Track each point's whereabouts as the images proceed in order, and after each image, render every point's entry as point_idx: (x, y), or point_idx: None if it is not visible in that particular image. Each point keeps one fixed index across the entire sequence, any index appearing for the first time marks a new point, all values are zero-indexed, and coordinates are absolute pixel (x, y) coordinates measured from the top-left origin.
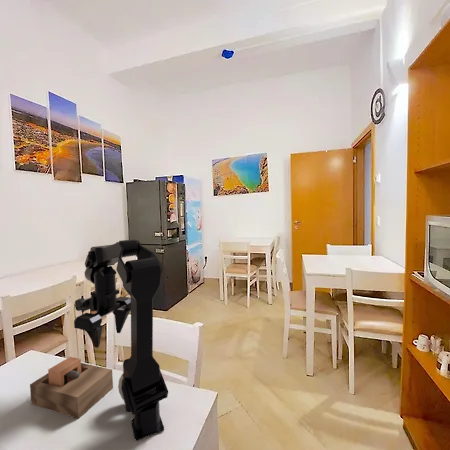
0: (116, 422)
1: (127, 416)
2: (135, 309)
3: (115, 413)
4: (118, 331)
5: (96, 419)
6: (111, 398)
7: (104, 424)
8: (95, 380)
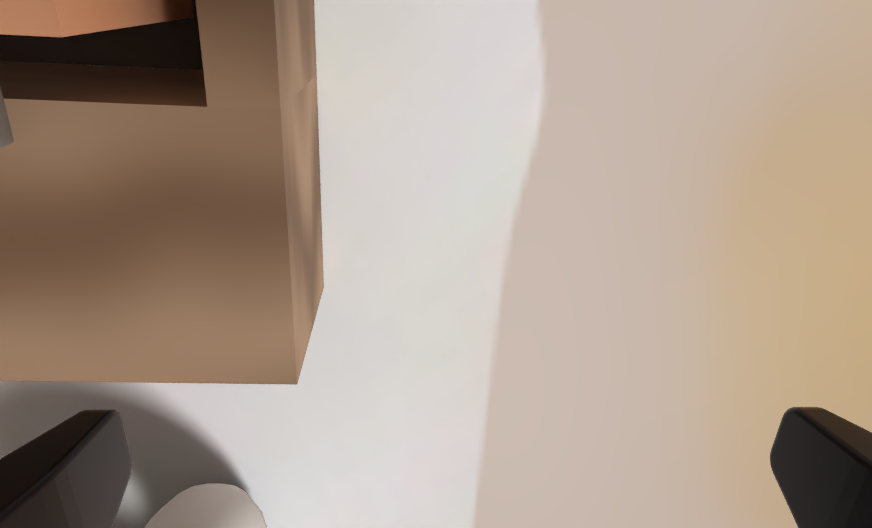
0: None
1: (144, 517)
2: None
3: None
4: (798, 467)
5: (26, 385)
6: None
7: None
8: (74, 356)
